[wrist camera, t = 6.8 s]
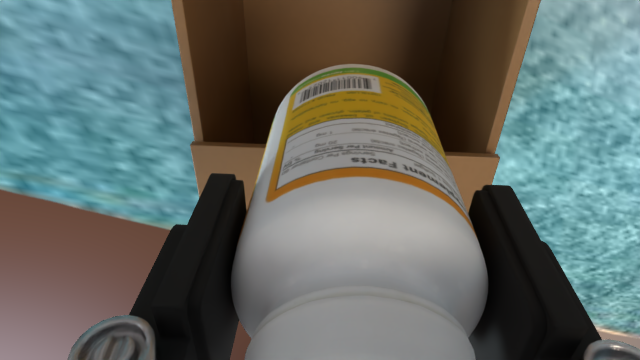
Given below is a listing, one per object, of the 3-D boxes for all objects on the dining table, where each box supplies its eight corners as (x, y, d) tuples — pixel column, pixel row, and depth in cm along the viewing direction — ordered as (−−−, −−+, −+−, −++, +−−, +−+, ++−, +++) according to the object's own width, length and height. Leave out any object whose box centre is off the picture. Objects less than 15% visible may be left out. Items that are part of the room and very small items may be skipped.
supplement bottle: (362, 221, 17) (379, 527, 9) (243, 148, 15) (133, 445, 7) (465, 123, 14) (623, 432, 6) (336, 22, 13) (325, 268, 5)
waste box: (230, -82, 27) (153, -57, 16) (472, -75, 26) (564, -44, 15) (250, 151, 36) (210, 267, 26) (426, 159, 36) (463, 279, 25)
